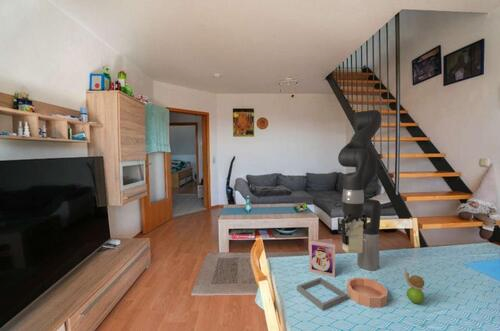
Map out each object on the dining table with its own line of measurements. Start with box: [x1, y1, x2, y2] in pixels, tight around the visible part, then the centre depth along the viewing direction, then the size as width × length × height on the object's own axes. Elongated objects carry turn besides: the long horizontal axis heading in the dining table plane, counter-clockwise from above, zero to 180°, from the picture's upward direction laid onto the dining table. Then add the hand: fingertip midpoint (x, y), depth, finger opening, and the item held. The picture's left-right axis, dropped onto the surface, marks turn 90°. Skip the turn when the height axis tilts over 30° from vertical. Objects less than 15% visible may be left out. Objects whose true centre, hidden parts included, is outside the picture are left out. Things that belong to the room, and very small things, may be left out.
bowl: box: [346, 276, 388, 308], centre depth 93 cm, size 14×14×4 cm
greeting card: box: [308, 238, 336, 278], centre depth 111 cm, size 11×7×15 cm, turn 64°
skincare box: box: [342, 221, 363, 254], centre depth 92 cm, size 6×4×12 cm
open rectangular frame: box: [296, 277, 349, 312], centre depth 94 cm, size 13×14×2 cm
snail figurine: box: [404, 267, 425, 305], centre depth 89 cm, size 5×6×12 cm
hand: (352, 242), depth 92 cm, fingers closed on skincare box, 7 cm apart
